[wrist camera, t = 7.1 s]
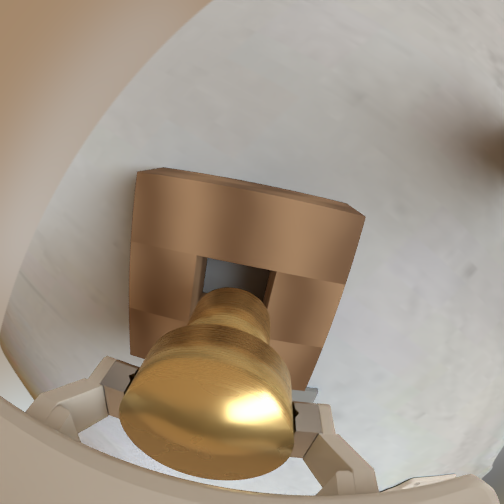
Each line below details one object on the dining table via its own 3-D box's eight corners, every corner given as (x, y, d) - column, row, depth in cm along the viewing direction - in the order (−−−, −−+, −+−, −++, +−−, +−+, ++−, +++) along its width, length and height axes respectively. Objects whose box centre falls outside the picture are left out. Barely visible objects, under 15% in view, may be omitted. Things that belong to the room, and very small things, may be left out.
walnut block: (346, 203, 21) (365, 216, 17) (300, 355, 26) (304, 391, 21) (163, 167, 21) (137, 171, 17) (150, 323, 26) (130, 354, 21)
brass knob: (300, 284, 15) (320, 401, 7) (272, 372, 17) (269, 488, 9) (183, 259, 15) (110, 354, 7) (174, 351, 17) (127, 456, 9)
